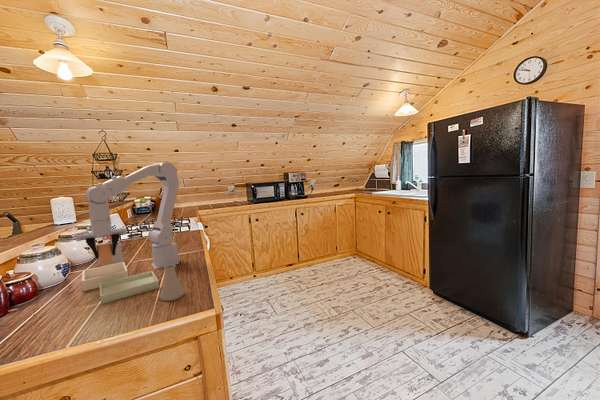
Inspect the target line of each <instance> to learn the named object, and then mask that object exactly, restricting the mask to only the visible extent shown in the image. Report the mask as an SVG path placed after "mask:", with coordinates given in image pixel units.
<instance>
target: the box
mask: <svg viewBox="0 0 600 400" xmlns="http://www.w3.org/2000/svg"><path fill="white" fill-rule="evenodd" d="M125 277H129V272H128V269H127V265H126V263H125V262H124V261H123V262H121V263H116V264H111V265H107V266H103V265H101V266H98V267H92V268H88V269H84V270H82V275H81V285H82V286H81V287H82V291H83V292H87V291H89V290H90V291H91V290H95V289H98V288H99V284H101V283H105V282H109V281H113V280H117V279H121V278H125ZM99 289H100V288H99Z"/></svg>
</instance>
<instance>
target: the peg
mask: <svg viewBox="0 0 600 400" xmlns="http://www.w3.org/2000/svg"><path fill="white" fill-rule="evenodd" d="M96 249H97V254H98V261H99V263H98V265H99V266H103V265H105V264H110V263H112V262H114V259H113V251H112V242H102V243H101V242H100V243H98V244H96Z"/></svg>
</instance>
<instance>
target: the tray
mask: <svg viewBox="0 0 600 400" xmlns="http://www.w3.org/2000/svg"><path fill="white" fill-rule="evenodd" d="M159 282H160V281H159V279H158V277H157V276H156V274H155V273H154V271H153V270H151V271H147V272H142V273H138V274H135V275H128V277H125V278H121V279H117V280H113V281H109V282H105V283H101V284H99V298H100V303H101V305H103V304H107V303H110V302H114V301H117V300H121V299H124V298H128V297H131V296H134V295H138V294H141V293H142V294H143V293H145V292H149V291H152V290H156V289H160V283H159Z"/></svg>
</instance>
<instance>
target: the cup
mask: <svg viewBox="0 0 600 400" xmlns="http://www.w3.org/2000/svg"><path fill="white" fill-rule="evenodd" d="M94 259H95V261H96V262H97V263H98V264H99V261H98V259H96V258H95V257H94ZM113 259H114V262H112V263H110V264H105V265H102V266H107V265H111V264H116V263H121V262H124V257H123V249H122V243H120V242H118V243H117V246H116V251H115V255H113Z"/></svg>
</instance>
